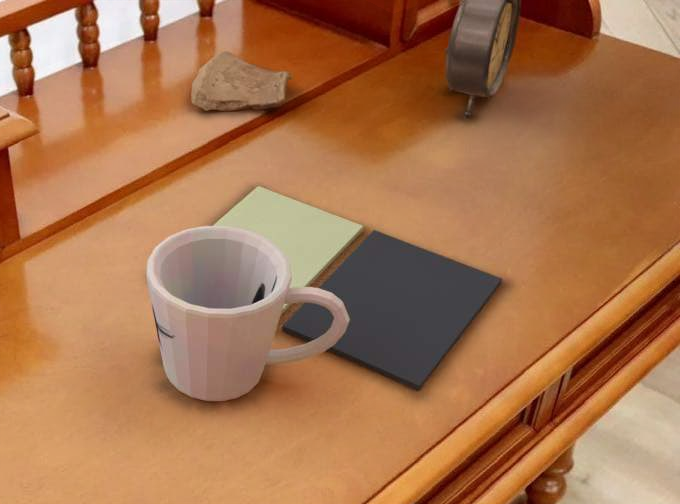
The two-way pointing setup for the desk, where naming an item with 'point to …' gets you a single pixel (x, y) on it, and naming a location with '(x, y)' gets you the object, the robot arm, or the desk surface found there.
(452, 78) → the alarm clock
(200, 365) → the mug
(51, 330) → the desk surface
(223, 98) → the pottery shard
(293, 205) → the sage mat
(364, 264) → the slate mat
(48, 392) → the desk surface
